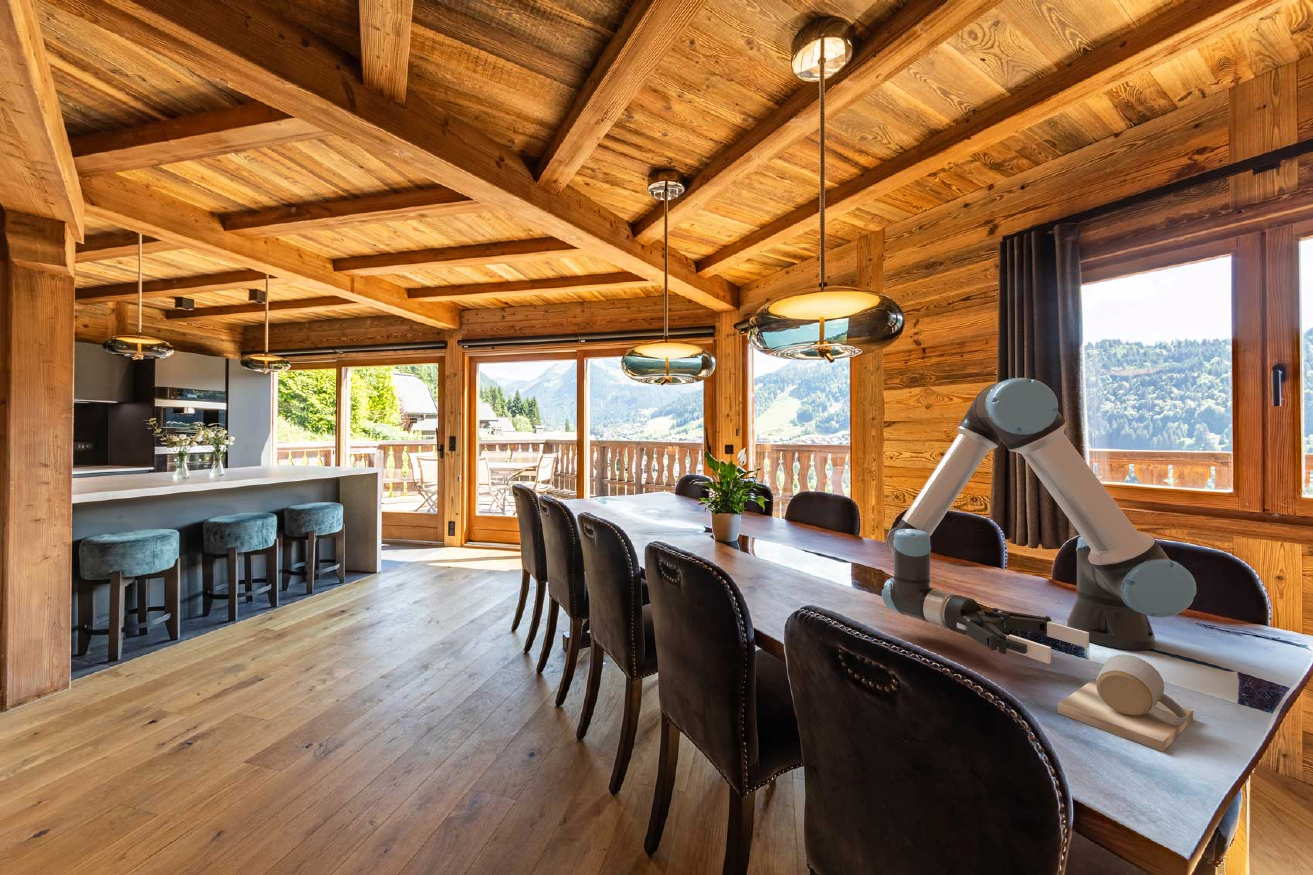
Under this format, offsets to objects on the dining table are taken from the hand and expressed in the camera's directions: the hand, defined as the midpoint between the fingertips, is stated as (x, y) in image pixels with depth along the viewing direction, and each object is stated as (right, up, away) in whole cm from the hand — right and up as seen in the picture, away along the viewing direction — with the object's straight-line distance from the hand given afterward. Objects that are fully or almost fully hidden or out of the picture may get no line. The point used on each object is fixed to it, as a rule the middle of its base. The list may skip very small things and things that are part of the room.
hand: (1069, 647), depth 94 cm
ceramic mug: (+5, -7, -8) cm, 12 cm away
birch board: (+4, -9, -7) cm, 11 cm away
